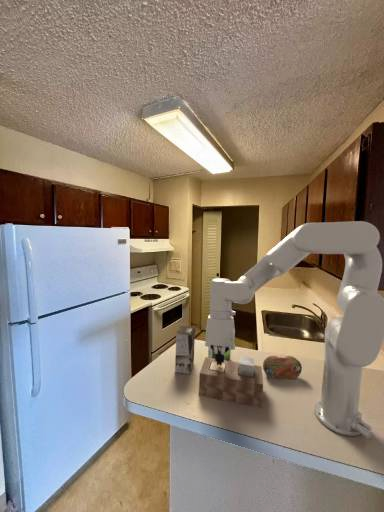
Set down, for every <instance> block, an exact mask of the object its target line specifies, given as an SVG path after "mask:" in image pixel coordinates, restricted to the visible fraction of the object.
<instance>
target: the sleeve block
mask: <svg viewBox="0 0 384 512" xmlns="http://www.w3.org/2000/svg"><path fill="white" fill-rule="evenodd" d="M212 362H216V363H217V361H215V359H214V358H208V356H206V357H204V360H203V362H202V365H201V368H200V371H199V376H198V377H199V378H198V396H201V397H206V398H211V399H217V400H219V401H220V400H222V401H227V402H231V403H234V404H235V403H237V404H241V405H245V406H249V407H255V408H260V409H262V408H263V396H264V378H263V366H262V365H256V364H254V374H253V378H251V377H245V376H239V375H238V370H239V361H232V360H230V361H226V360H224V362H222V364H225V373H222V372H217V371H211V370H210V367H211V363H212Z"/></svg>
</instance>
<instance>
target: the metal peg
mask: <svg viewBox="0 0 384 512" xmlns="http://www.w3.org/2000/svg"><path fill="white" fill-rule="evenodd" d="M238 363H239V370H238V375H239V376H245V377H251V378H253V374H254V365H255V359H254V357H253V358H251V357H246V356H239V358H238Z"/></svg>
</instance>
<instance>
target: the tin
mask: <svg viewBox="0 0 384 512" xmlns="http://www.w3.org/2000/svg"><path fill="white" fill-rule="evenodd" d="M302 368H303V366H302V364H301V362H300V361H299V360H298V358H296V357H294V356H291V355H270V356H267V357H266V358H265V359H264V361H263V363H262V371H264V374H265V375H266V377H267V378H269V379H271V380H294V379H296V378H298V377H299V376H300V375H301V373H302V371H303V369H302Z"/></svg>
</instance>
